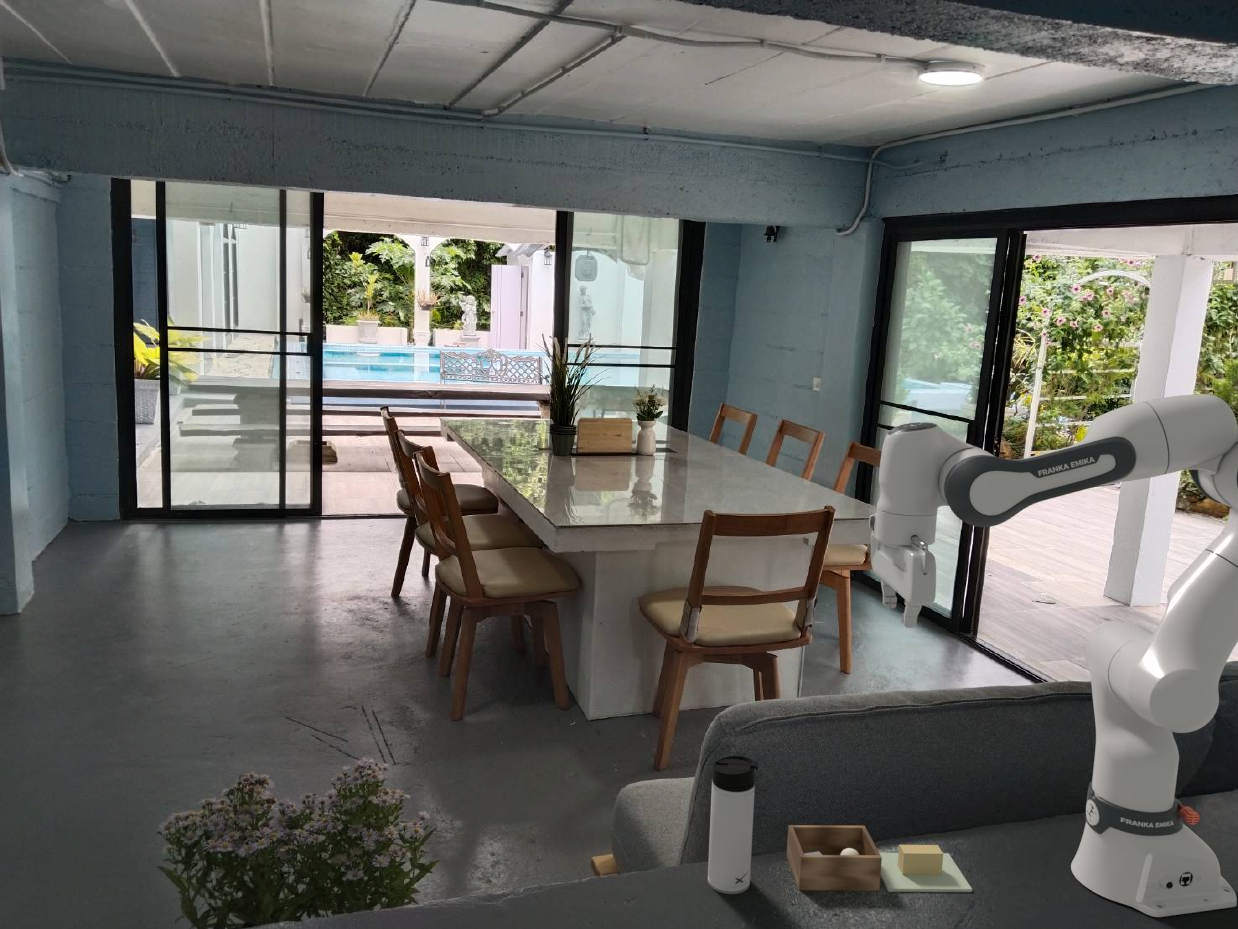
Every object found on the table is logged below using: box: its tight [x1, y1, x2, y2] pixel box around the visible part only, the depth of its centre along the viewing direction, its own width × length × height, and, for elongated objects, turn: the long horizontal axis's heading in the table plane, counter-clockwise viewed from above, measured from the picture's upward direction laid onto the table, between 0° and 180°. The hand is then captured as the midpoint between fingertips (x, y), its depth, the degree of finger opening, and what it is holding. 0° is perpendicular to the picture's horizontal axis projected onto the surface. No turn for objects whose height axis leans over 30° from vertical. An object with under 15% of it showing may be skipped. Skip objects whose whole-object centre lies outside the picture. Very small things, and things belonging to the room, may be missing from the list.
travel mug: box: [707, 755, 759, 895], centre depth 144 cm, size 6×7×20 cm
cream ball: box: [840, 848, 859, 855], centre depth 149 cm, size 3×3×3 cm
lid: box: [879, 844, 973, 893], centre depth 149 cm, size 13×10×5 cm
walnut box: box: [786, 824, 882, 891], centre depth 148 cm, size 12×9×6 cm
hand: (898, 616), depth 150 cm, fingers open, 8 cm apart
